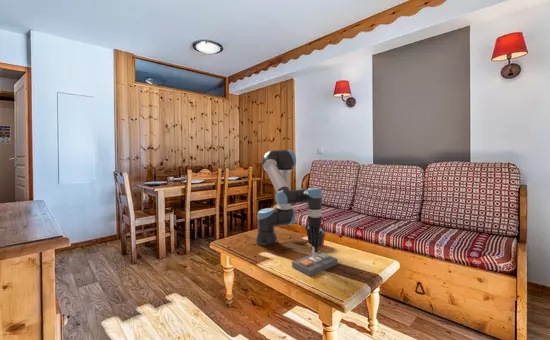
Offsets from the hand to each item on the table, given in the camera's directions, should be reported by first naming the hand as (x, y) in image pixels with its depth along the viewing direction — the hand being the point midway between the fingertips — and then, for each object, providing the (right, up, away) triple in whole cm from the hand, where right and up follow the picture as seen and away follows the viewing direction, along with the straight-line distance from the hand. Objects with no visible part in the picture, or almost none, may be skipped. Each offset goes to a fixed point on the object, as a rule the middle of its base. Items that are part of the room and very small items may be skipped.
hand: (314, 257), depth 147 cm
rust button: (-5, -4, -4) cm, 8 cm away
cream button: (0, -3, 0) cm, 4 cm away
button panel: (0, -5, 0) cm, 5 cm away
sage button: (+6, -3, +4) cm, 8 cm away
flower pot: (+6, -2, +30) cm, 31 cm away
